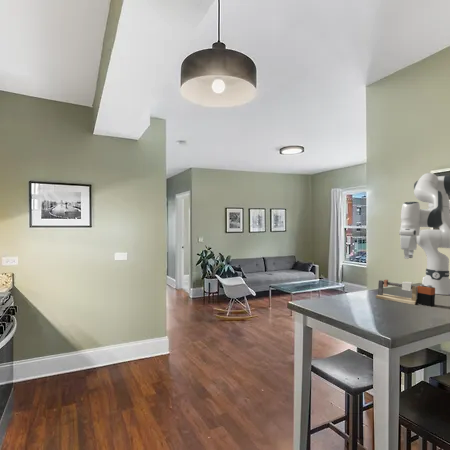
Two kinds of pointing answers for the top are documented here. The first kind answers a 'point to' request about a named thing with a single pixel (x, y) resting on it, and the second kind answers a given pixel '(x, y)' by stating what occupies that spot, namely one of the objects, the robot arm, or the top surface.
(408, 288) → the marker sleeve
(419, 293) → the battery
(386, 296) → the rod stand
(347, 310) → the top surface
